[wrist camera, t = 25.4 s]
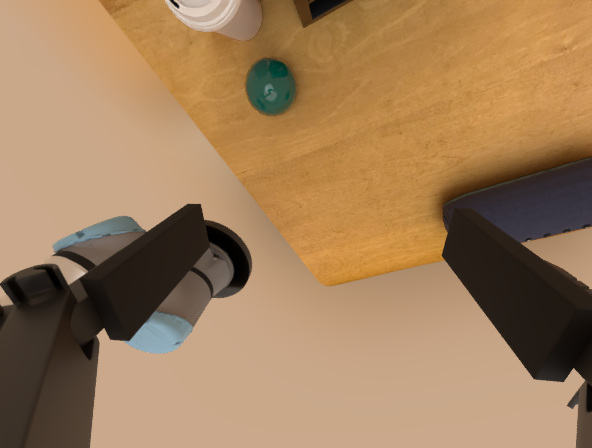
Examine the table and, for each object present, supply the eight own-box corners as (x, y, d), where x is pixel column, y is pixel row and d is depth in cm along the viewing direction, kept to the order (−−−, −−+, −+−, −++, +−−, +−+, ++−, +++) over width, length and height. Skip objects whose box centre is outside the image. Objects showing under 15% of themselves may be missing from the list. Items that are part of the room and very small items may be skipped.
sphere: (310, 89, 40) (305, 86, 33) (277, 125, 43) (266, 130, 36) (276, 48, 38) (262, 35, 31) (244, 89, 41) (225, 86, 34)
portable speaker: (439, 239, 48) (463, 269, 40) (430, 193, 45) (454, 216, 36) (600, 198, 41) (673, 224, 32) (604, 140, 38) (688, 152, 29)
